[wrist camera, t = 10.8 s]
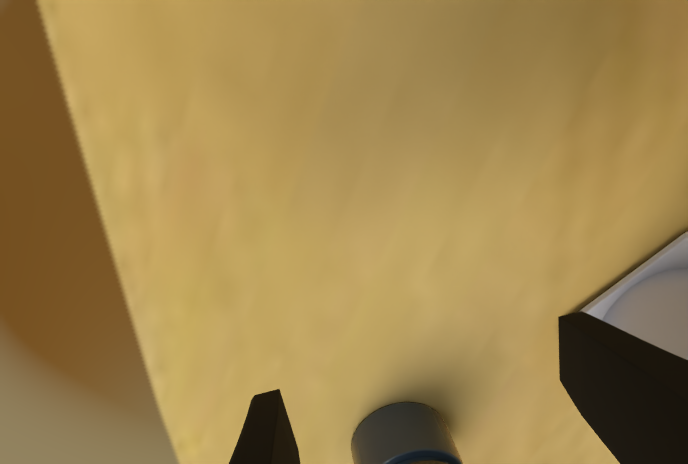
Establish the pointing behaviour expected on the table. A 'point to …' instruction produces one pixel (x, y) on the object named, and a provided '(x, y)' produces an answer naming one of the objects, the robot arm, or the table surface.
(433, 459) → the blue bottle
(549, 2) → the table surface
